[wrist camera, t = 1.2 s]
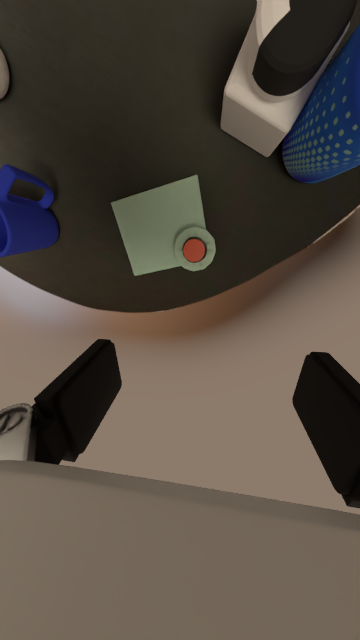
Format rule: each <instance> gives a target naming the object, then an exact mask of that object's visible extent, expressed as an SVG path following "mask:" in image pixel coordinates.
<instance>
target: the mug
mask: <svg viewBox="0 0 360 640" xmlns="http://www.w3.org/2000/svg"><path fill="white" fill-rule="evenodd" d="M16 179H22V180H25V181H28V182H30V183H33V184H36V185H38V186H40V187H42V188H44V189H45V195H44V197H43V198H42V199H41V200H40V201H34V200H30V199H27V198H23V197H19V196H16V195H12V194H9V190H10V188H11V186H12V184H13V183H14V181H15V180H16ZM53 200H54V192H53V190H52V189H51V188H50V187H49V186H48V185H47V184H46V183H45V182H44V181H42V180H41V179H39V178H37V177H35V176H33V175H31V174H29V173H27V172H25V171H23V170H20V169H18V168H16V167H13V166H11V165H8V164H5V165H3V167H2V168H1V170H0V257H5V256H9V255H14V254H19V253H24V252H28V251H33V250H38V249H42V248H47V247H49V246H51V245H53V244H54V243H55V242H56V241H57V239H58V235H59V227H58V223H57V221H56V218H55V217H54V215H53V214H52V213H51V211H50V210H49V209H48V207H49V206H50V205H51V204H52V202H53Z"/></svg>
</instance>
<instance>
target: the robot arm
mask: <svg viewBox="0 0 360 640" xmlns="http://www.w3.org/2000/svg"><path fill="white" fill-rule="evenodd" d="M121 382H122V381H121V376H120V371H119V366H118V361H117V357H116V351H115V346H114V343H112V342H111V341H110V340H106V339H98V340H97V341H95V342H94V343H93V344H92V345H91V346H90V347H89V348H88V349H87V350H86V351H85V352H84V353H83V354H82V355H81V356H79V357H78V358H77V359H76V360H75V361H74V362H73V363H72V364H71V365H70V366H69V367H68V368H67V369H66V370H64V371H63V372H62V373H61V374H60V375H59V376H58V377H57V378H56V379H55V380H54V381H53V382H52V383H50V384H49V385H48V386H47V387H46V388H45V389H44V390H43V391H42V392H41V393H40V394H39V395H38V396H36V397H35V398H34V400H35V402H36V403H35V404H34V405H33V406H32V407H31V406H30V405H29V404H25V403H22V404H16V405H12V406H9V407H7V408H5V409H2V410H1V411H0V640H360V515H358V514H352V513H347V512H342V511H337V510H331V509H325V508H319V507H313V506H308V505H301V504H296V503H290V502H284V501H279V500H273V499H267V498H261V497H255V496H249V495H243V494H237V493H231V492H225V491H219V490H213V489H207V488H201V487H195V486H189V485H183V484H176V483H171V482H165V481H159V480H153V479H147V478H140V477H134V476H128V475H122V474H115V473H109V472H103V471H97V470H90V469H83V468H78V467H71V466H63V465H59V463H60V462H61V460H65V461H72V462H75V461H76V459H77V457H78V455H79V454H81V453H83V452H84V450H85V449H86V447H87V446H88V444H89V442H90V440H91V439H92V437H93V435H94V433H95V432H96V430H97V428H98V427H99V425H100V423H101V421H102V420H103V418H104V416H105V415H106V412H107V411H108V409H109V408H110V406H111V404H112V402H113V401H114V399H115V397H116V395H117V394H118V392H119V390H120V388H121V385H122V383H121ZM293 405H294V408H295V410H296V412H297V414H298V416H299V418H300V420H301V422H302V424H303V426H304V428H305V430H306V432H307V434H308V436H309V438H310V440H311V442H312V444H313V446H314V448H315V450H316V452H317V454H318V456H319V458H320V460H321V463H322V464H323V467H324V469H325V471H326V473H327V475H328V477H329V479H330V481H331V483H332V485H333V487H334V488H335V490H336V491H337V492H338V493H339V494H341V495H342V497H343V499H344V501H345V503H346V505H347V506H349V507H355V508H360V384H359V383H358V382H357V381H356V380H355V379H354V378H353V377H352V376H351V375H350V374H349V373H348V372H347V371H346V370H345V369H344V368H343V367H342V366H341V365H340V364H339V363H338V362H337V361H336V360H335V359H334V358H333V357H332V356H331V355H330V354H329V353H325V352H311V353H310V355H307V356H306V357H305V360H304V364H303V367H302V370H301V373H300V376H299V379H298V382H297V386H296V389H295V392H294V395H293Z"/></svg>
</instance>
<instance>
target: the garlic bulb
mask: <svg viewBox="0 0 360 640" xmlns="http://www.w3.org/2000/svg"><path fill="white" fill-rule="evenodd" d="M8 86H9V70H8V65H7V62H6V59H5V57H4V54H3V52H2V50H1V49H0V99H2V98H3V97H4V96H5V94H6V92H7V90H8Z"/></svg>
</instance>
